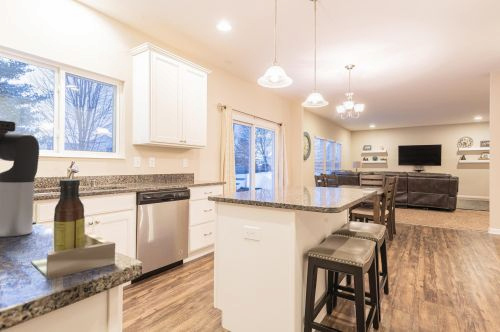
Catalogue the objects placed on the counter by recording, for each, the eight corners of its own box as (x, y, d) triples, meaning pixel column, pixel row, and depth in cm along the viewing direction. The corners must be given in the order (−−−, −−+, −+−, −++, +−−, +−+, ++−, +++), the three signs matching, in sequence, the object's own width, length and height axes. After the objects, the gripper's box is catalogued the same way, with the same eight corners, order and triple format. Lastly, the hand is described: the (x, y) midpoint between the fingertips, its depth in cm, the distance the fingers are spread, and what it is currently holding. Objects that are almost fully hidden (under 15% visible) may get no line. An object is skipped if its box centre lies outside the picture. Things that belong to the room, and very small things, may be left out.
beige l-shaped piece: (31, 262, 66) (31, 241, 66) (91, 251, 77) (92, 232, 77) (48, 279, 57) (49, 255, 57) (114, 263, 68) (115, 243, 68)
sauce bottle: (78, 256, 71) (82, 178, 71) (88, 262, 67) (91, 179, 67) (48, 262, 66) (51, 178, 66) (56, 269, 62) (60, 180, 62)
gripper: (-99, 92, 49) (18, 109, 61) (-96, 102, 58) (5, 115, 71) (-101, 134, 49) (17, 143, 61) (-98, 138, 58) (4, 144, 71)
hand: (11, 128), depth 66 cm, fingers open, 8 cm apart
